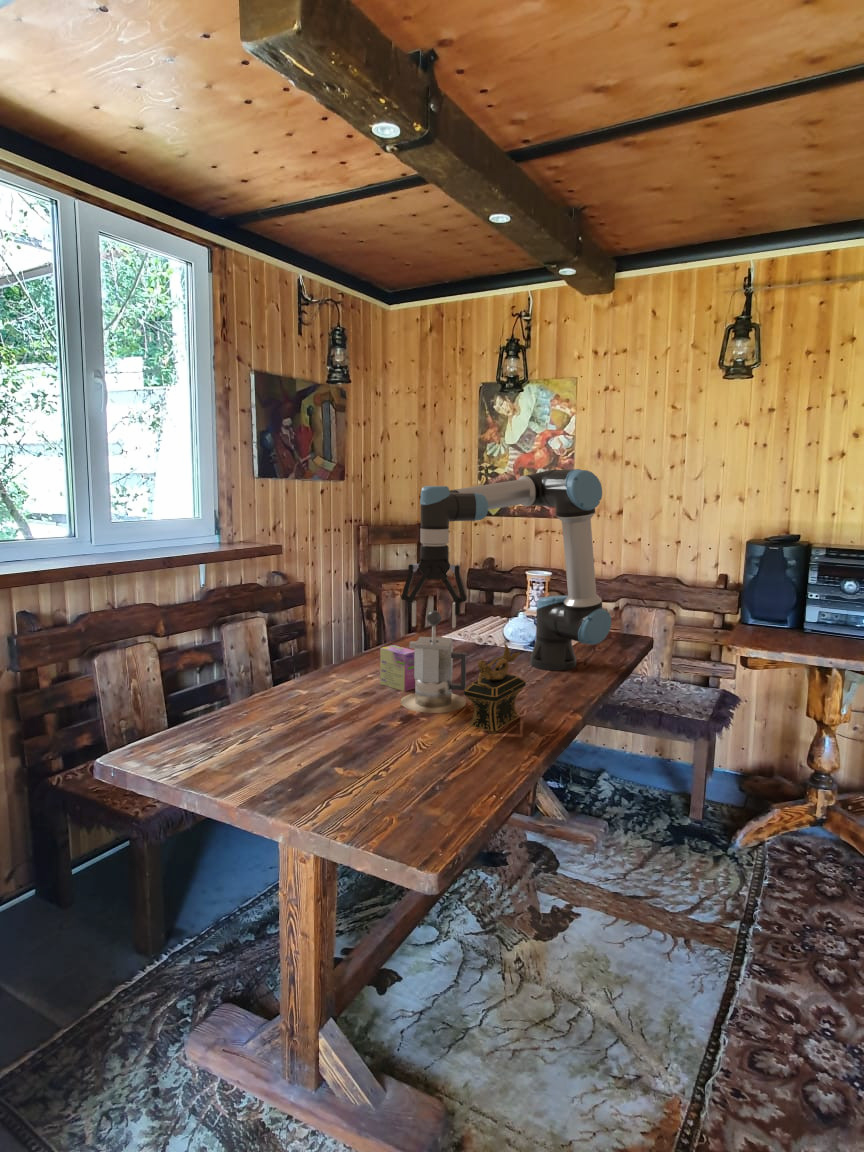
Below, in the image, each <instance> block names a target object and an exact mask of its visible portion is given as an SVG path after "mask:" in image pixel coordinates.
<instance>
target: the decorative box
mask: <svg viewBox="0 0 864 1152" xmlns="http://www.w3.org/2000/svg"><path fill="white" fill-rule="evenodd" d="M503 645H504V651H503V654H502V656H498V657H496V658H494V659H492V661H491V662H489V663H488V664H487V663H486V662H487V661H486V660H484V659H480V660H478V662H477V667H478V670H479V674H478V678H477V680H475V681H473V682H471V683H470V684H469V685H467V686H466V688H465V689H464V690H463V694H464V697H466V698H467V699H468V700H469V701H470V702H471V703H472V705H473V710H474V711H473V716H472V719H471V720H470V721H469V726H471V727H473V728H477V729H482V732H483V733H487V734H492V735H496V734H499V733H500V732H499V731H500V730H501V729H503V728H504V727H505V726H508V725H509V724H510V723H512V722H514V721H516V720H518V719H519V718H520V717H519V715H518V712H517V710H516V699H517V697H518V695H519V694H520V692H521V691H522V690H523V689H524V688H525V687H526V684H527V683H526V680H524V679H523V678H521V677H519V676H518V675H515V674H509V673H507V672H508V670H509V663H512V662H515V661H516V660H517V658H518V657H519V656H520V654H521V653H520V652H521V651H520V652H519V651H517V652H515V653H512V654H511V650H510V648H509V647H508V644H506V643H505V642H504V644H503ZM495 662H496V664H495ZM494 664H495V666H494V669H492V668H491V667H492V666H493V665H494ZM484 730H486V731H484Z"/></svg>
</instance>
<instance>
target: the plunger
mask: <svg viewBox="0 0 864 1152" xmlns="http://www.w3.org/2000/svg"><path fill="white" fill-rule="evenodd" d="M426 621H427V623H428V624H429V625H430V626H431V637H432V642H436V636H437V635H436V634H437V632H436V630H437V629H436V627H437V626H438V625H439V624H440V623H441V622H442V615H441V613H440V612H439V611H438V610H431V611H429V612H428V613H427V614H426Z"/></svg>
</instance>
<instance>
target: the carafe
mask: <svg viewBox="0 0 864 1152" xmlns="http://www.w3.org/2000/svg"><path fill="white" fill-rule="evenodd" d="M408 649H413V650H414V678H415V688H414V693H415V703H416V704H418V705H420V706H423V707H430V708H438V707H444V706H448V705H450V704H451V702H452V694H453V691H452V690H454V691H464V689H465V688H467V686H466V685H467V652H465V651H464V652H463V651H454V644H453V637H439V636H438V637H436V642H432V636H419V637H418V638H417V640H415V641H412V640H411V641H410V642H409V648H408ZM454 659H460V683H459V682H453V673H454V672H453V665H454V664H453V663H454V662H453V660H454Z"/></svg>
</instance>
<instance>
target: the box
mask: <svg viewBox="0 0 864 1152" xmlns="http://www.w3.org/2000/svg"><path fill="white" fill-rule="evenodd" d="M379 654H380V657H379V658H380V666H379V670H380V673H379V678H380V680H379V683H380V685H383V686H385V687H389V688H392V689H396V690H398V691H402V692H406V691H411V690H413V689H414V690H415V678H414V649H412V648H407V647H402V646H399V645H395V644H393V645H388V646H387V645H386V646H383V647H380V653H379Z"/></svg>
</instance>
